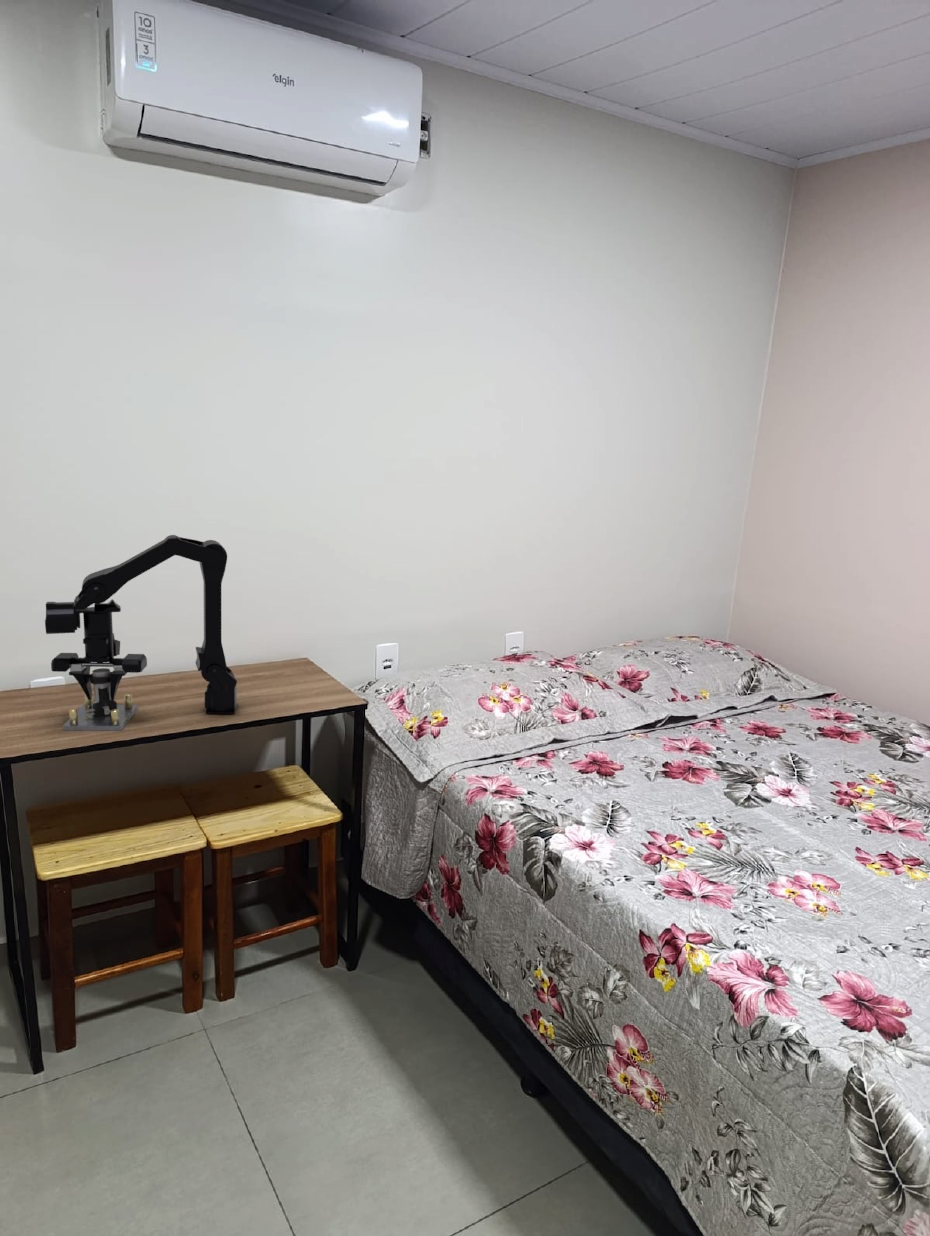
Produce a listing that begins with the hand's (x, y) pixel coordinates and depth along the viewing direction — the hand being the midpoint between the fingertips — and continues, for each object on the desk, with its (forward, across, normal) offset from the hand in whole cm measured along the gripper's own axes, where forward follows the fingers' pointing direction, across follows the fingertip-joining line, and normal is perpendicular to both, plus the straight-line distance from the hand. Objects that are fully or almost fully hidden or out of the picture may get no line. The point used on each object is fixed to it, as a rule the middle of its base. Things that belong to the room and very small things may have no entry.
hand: (101, 699), depth 189 cm
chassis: (+4, 0, 0) cm, 5 cm away
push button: (+4, 0, 0) cm, 4 cm away
